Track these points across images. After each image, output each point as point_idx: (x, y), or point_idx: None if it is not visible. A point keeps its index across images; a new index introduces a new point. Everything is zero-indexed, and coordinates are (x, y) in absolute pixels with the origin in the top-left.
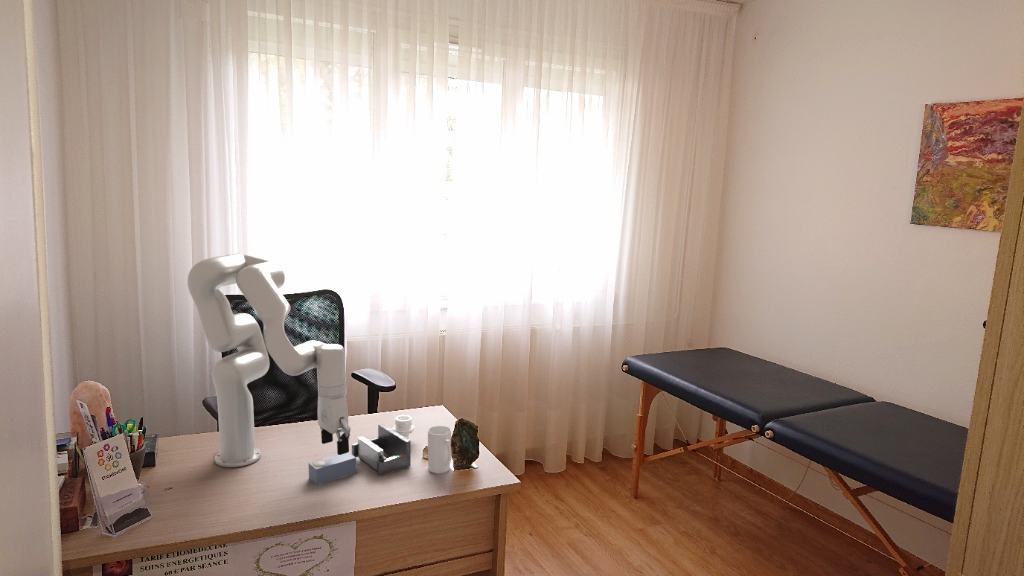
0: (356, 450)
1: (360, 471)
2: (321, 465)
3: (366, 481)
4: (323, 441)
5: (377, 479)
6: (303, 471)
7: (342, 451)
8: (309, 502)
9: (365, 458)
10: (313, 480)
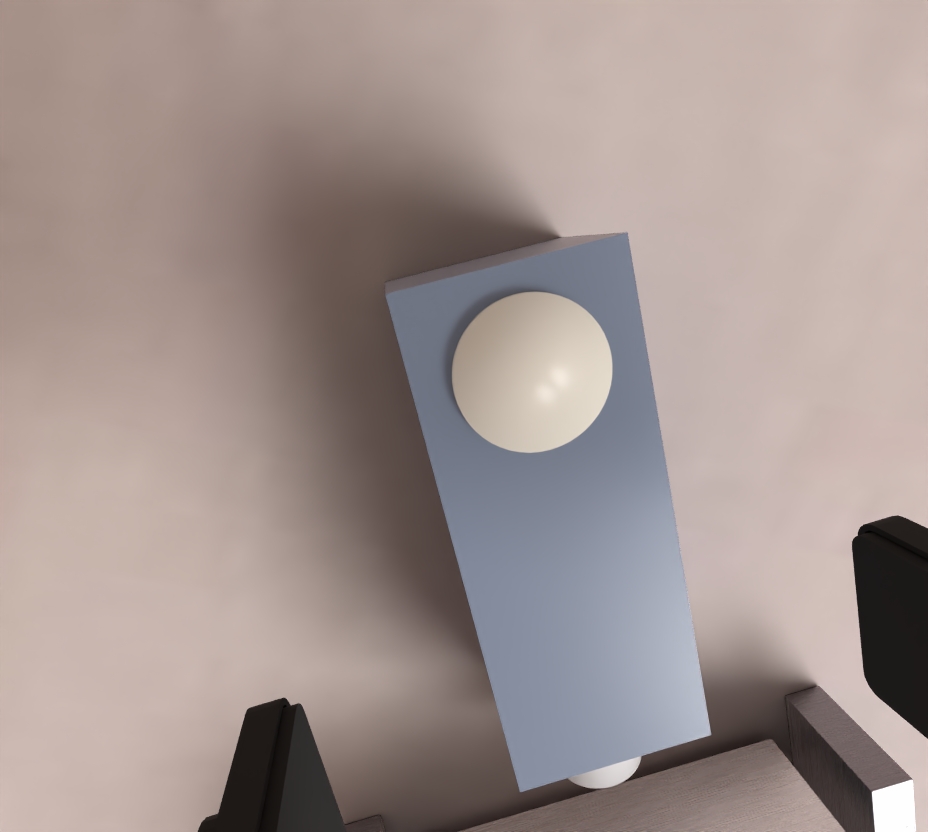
0: (830, 766)
1: None
2: (460, 384)
3: None
4: (884, 556)
5: None
6: (755, 219)
7: (206, 821)
8: (18, 130)
9: (655, 802)
10: (456, 265)
